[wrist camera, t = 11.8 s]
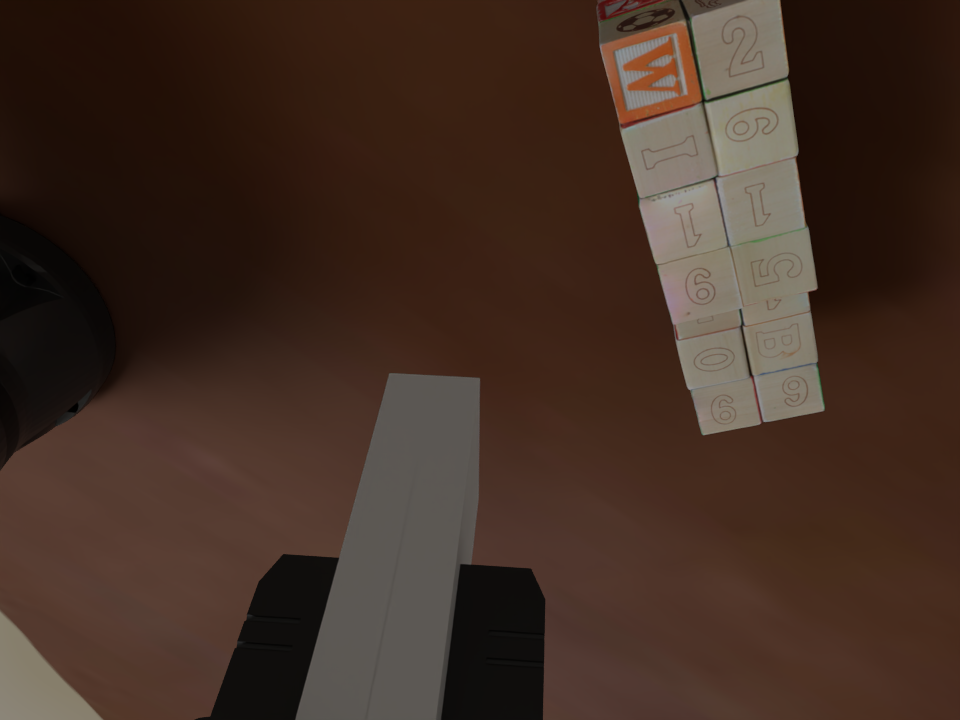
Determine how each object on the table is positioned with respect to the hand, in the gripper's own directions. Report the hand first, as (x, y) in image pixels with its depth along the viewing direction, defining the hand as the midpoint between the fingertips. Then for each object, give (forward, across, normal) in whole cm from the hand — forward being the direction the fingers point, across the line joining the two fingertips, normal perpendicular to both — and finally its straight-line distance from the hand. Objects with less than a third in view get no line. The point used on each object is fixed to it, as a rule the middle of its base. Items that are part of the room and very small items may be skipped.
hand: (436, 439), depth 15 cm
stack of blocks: (+33, +10, -8) cm, 35 cm away
